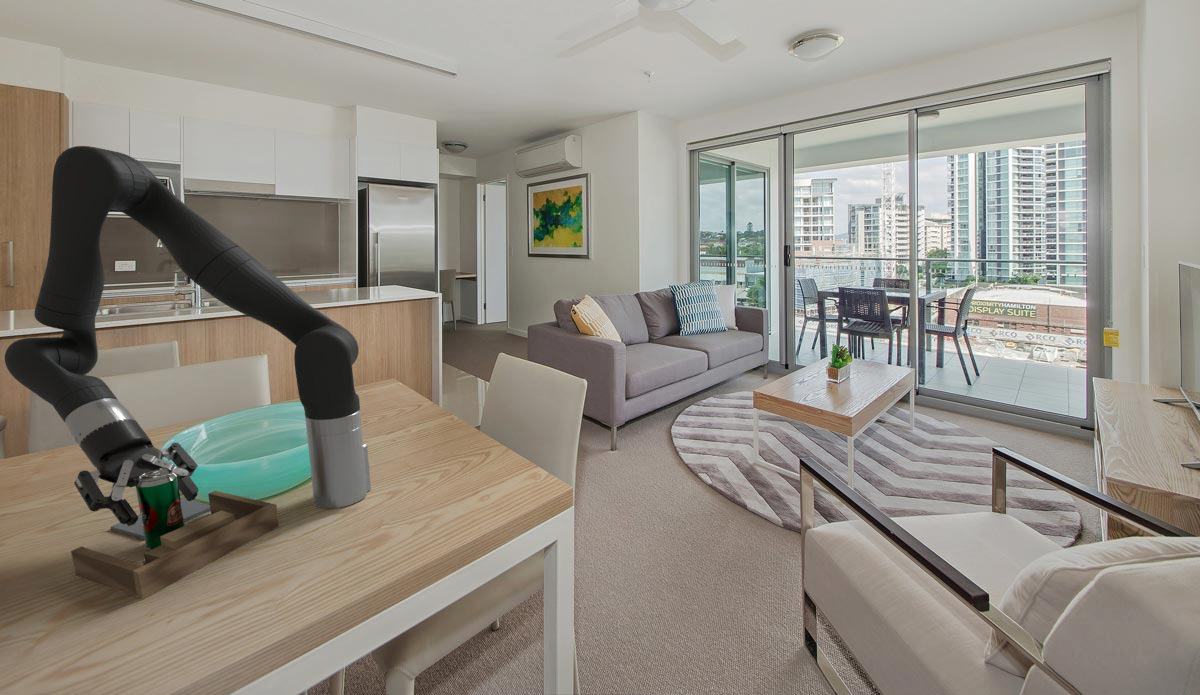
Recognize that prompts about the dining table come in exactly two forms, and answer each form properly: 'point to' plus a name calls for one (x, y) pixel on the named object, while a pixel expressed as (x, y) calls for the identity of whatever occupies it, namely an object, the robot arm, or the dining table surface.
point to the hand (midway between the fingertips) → (165, 509)
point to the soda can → (159, 505)
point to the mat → (189, 512)
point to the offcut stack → (189, 534)
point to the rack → (180, 550)
